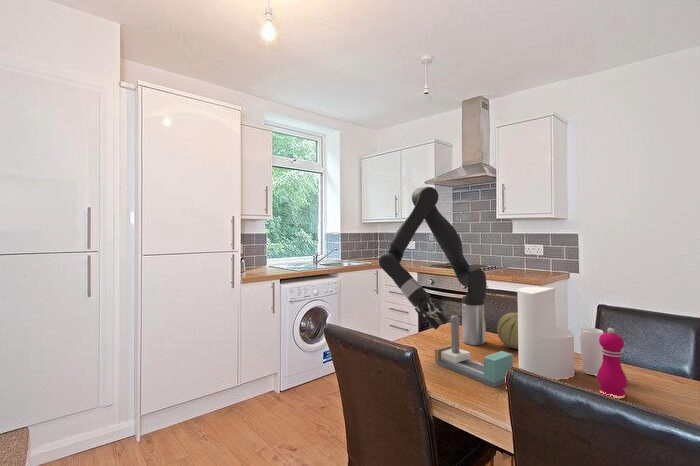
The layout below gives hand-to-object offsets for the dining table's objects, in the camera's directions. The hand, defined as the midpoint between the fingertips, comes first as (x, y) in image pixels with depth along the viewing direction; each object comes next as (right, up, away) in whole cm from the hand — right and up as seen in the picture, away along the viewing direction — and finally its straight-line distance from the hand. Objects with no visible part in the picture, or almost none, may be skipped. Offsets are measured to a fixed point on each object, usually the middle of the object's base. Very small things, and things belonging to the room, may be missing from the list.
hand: (442, 325), depth 132 cm
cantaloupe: (+35, -14, +14) cm, 40 cm away
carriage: (+4, -11, -3) cm, 12 cm away
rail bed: (+8, -14, -9) cm, 18 cm away
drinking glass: (+48, -13, -13) cm, 52 cm away
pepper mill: (+44, -14, -28) cm, 53 cm away
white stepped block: (+34, -14, -9) cm, 38 cm away
